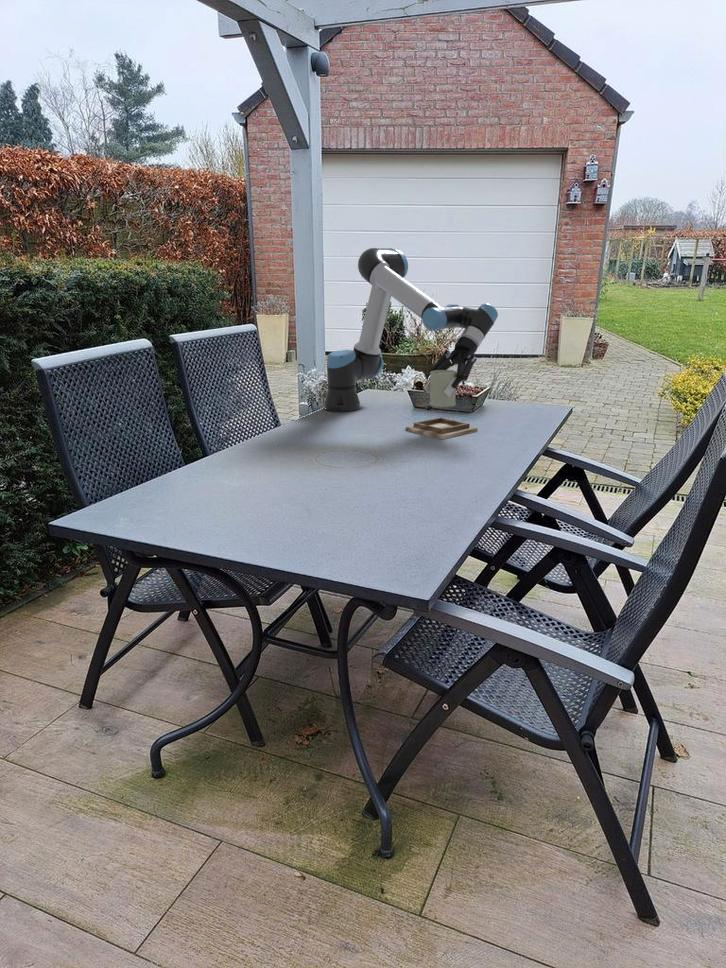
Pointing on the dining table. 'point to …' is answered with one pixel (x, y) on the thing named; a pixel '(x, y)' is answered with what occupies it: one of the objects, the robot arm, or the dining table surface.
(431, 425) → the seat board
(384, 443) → the dining table surface
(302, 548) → the dining table surface
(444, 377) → the can
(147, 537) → the dining table surface
